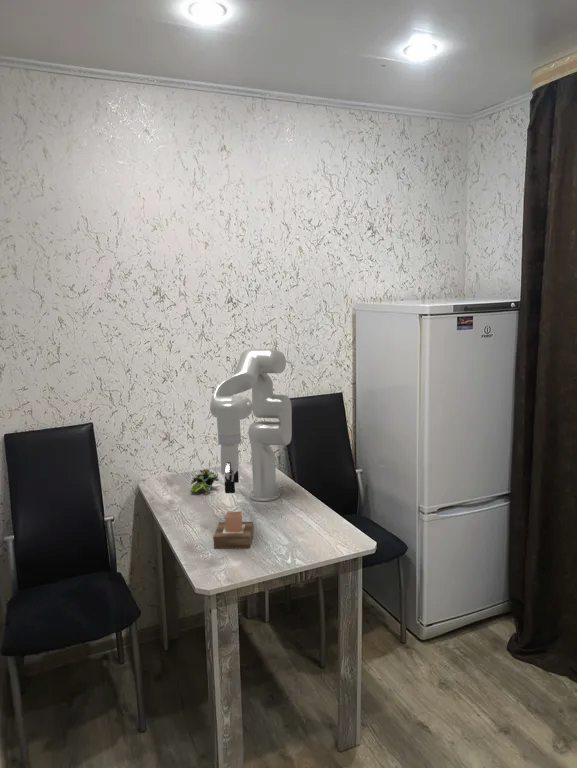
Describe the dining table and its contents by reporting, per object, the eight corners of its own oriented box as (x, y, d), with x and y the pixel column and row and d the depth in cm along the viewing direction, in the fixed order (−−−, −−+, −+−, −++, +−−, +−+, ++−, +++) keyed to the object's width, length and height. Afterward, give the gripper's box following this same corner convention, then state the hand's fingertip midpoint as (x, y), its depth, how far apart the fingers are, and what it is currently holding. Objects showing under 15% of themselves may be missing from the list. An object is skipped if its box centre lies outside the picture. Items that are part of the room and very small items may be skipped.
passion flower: (206, 500, 245) (218, 475, 247) (213, 503, 235) (226, 477, 238) (183, 489, 241) (196, 463, 244) (189, 492, 231) (203, 466, 234)
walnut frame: (219, 533, 198) (219, 521, 197) (253, 532, 197) (253, 521, 196) (214, 548, 186) (213, 536, 185) (250, 548, 185) (249, 536, 185)
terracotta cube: (227, 525, 193) (226, 512, 193) (242, 525, 193) (241, 511, 192) (225, 531, 188) (224, 517, 188) (240, 531, 188) (239, 517, 187)
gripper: (222, 431, 194) (224, 478, 197) (213, 446, 177) (216, 497, 180) (243, 431, 194) (246, 478, 197) (237, 445, 177) (240, 497, 180)
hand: (232, 487), depth 189 cm, fingers open, 9 cm apart
